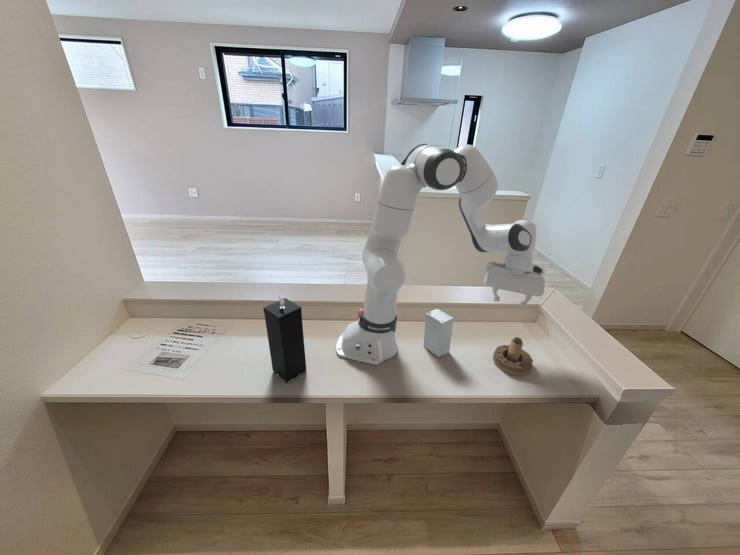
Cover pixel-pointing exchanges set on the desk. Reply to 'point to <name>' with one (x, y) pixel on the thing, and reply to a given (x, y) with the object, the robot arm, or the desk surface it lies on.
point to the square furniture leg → (285, 338)
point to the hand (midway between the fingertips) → (509, 303)
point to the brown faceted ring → (510, 366)
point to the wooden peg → (514, 350)
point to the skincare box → (438, 332)
